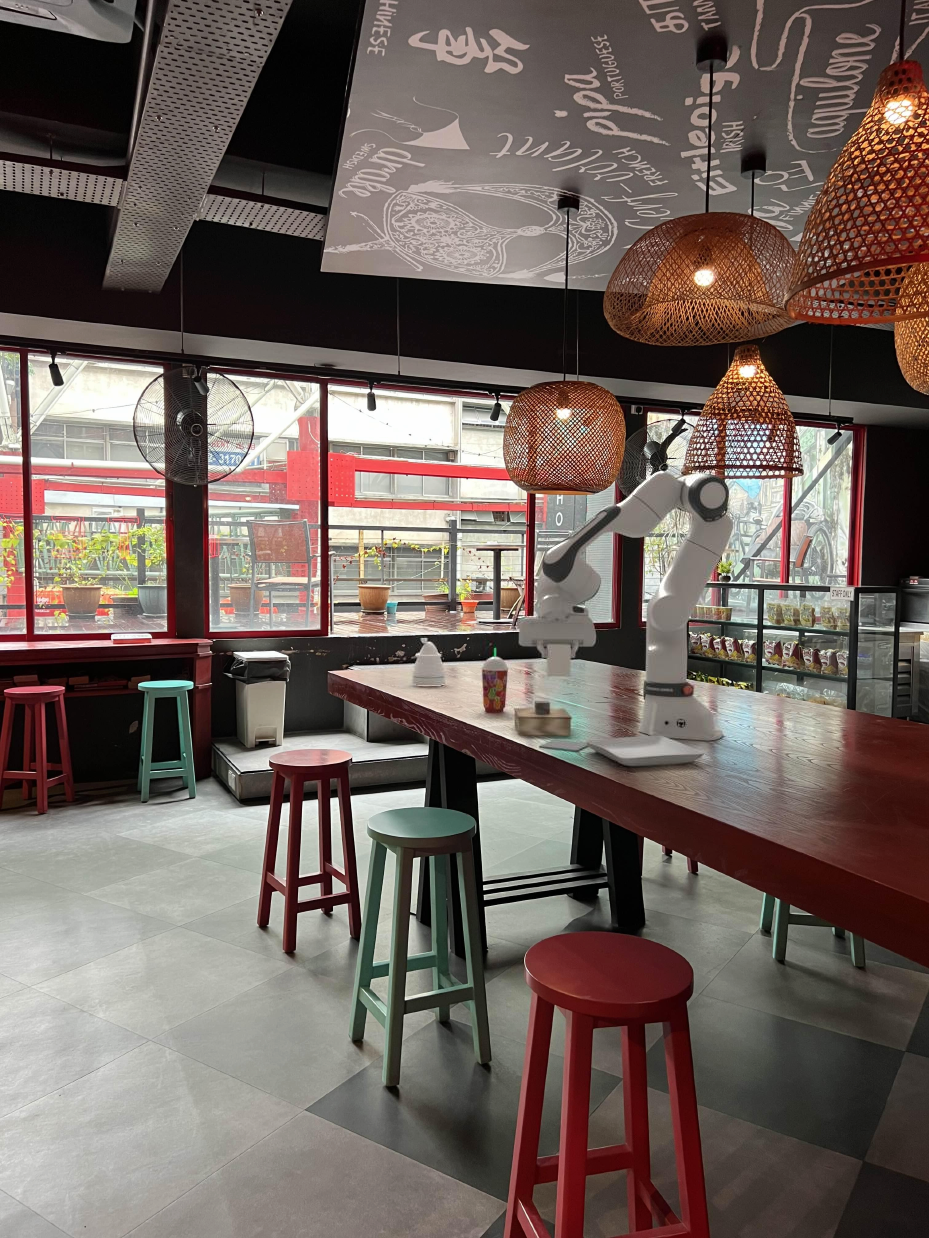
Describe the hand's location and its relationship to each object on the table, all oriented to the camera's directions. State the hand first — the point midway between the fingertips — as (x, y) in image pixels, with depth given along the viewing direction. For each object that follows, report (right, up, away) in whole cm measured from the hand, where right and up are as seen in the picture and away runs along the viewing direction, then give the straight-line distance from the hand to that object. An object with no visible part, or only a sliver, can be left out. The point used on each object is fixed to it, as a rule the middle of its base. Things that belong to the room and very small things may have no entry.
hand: (558, 656), depth 222 cm
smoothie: (-15, -20, +48) cm, 54 cm away
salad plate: (+18, -24, -18) cm, 35 cm away
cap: (0, -5, +1) cm, 5 cm away
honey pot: (-38, -16, +112) cm, 119 cm away
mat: (+1, -22, -5) cm, 23 cm away
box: (-3, -21, +17) cm, 27 cm away
